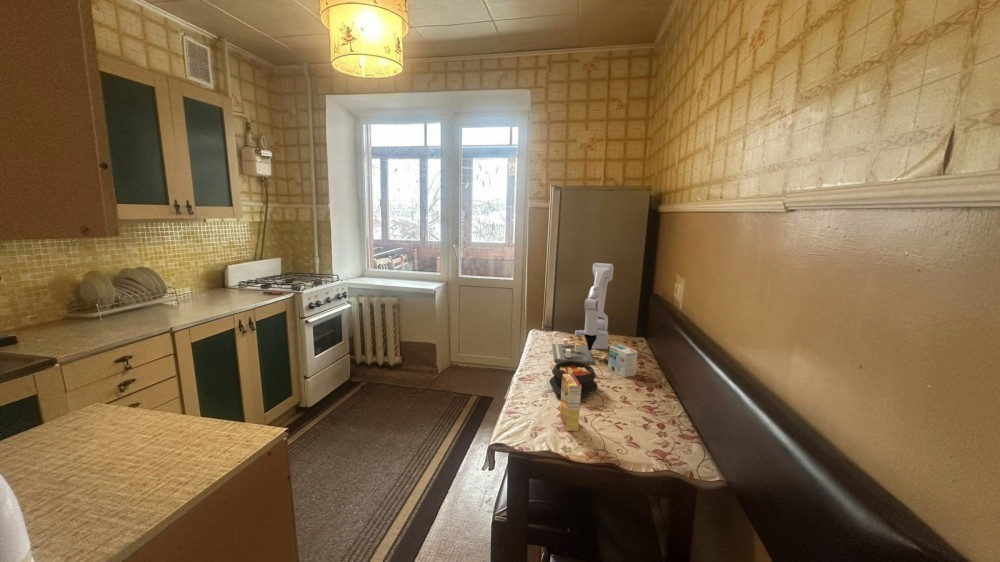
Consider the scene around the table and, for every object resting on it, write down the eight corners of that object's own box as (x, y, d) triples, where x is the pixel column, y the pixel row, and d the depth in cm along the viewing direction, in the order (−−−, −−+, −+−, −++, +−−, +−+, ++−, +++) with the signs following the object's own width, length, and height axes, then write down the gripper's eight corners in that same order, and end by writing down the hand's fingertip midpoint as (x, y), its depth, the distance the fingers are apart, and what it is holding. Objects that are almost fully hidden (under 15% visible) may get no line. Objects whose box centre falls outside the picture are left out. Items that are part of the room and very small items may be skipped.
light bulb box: (607, 368, 168) (608, 345, 166) (618, 366, 170) (620, 343, 169) (624, 377, 158) (626, 353, 156) (636, 375, 161) (638, 351, 159)
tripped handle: (578, 350, 184) (579, 343, 184) (579, 352, 182) (579, 345, 181) (574, 350, 185) (575, 342, 184) (575, 352, 182) (575, 344, 181)
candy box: (559, 416, 125) (561, 373, 123) (571, 416, 126) (573, 373, 123) (566, 431, 117) (568, 385, 114) (579, 431, 117) (582, 385, 115)
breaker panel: (587, 348, 194) (587, 338, 193) (593, 364, 172) (594, 353, 171) (552, 346, 195) (552, 336, 194) (554, 362, 174) (554, 351, 173)
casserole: (594, 406, 133) (595, 384, 132) (542, 397, 139) (543, 376, 138) (599, 379, 156) (601, 360, 155) (555, 372, 162) (556, 354, 161)
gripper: (576, 324, 177) (575, 351, 179) (608, 325, 176) (606, 353, 178) (575, 320, 184) (573, 346, 186) (605, 321, 183) (603, 348, 185)
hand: (589, 349), depth 182 cm, fingers closed
